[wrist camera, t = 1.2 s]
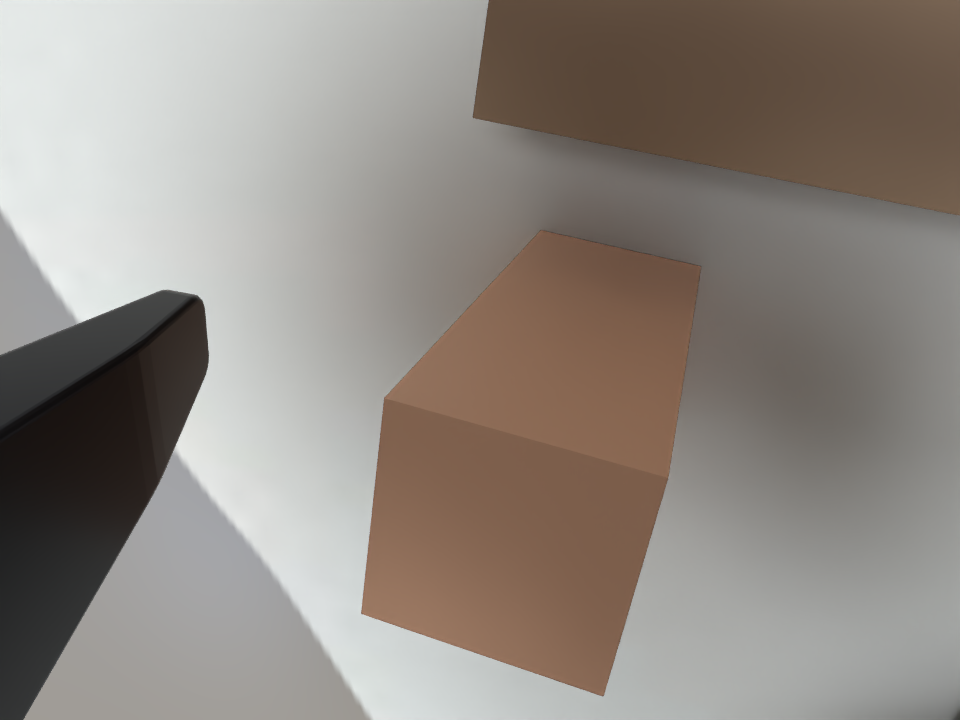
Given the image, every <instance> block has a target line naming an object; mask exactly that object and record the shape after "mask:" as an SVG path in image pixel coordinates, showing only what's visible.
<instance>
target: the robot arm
mask: <svg viewBox="0 0 960 720" xmlns="http://www.w3.org/2000/svg"><path fill="white" fill-rule="evenodd" d="M208 362H209V351H208V339H207V328H206V316H205V307H204V304H203V301H202V300H201V299H200V298H199V297H198V296H197V295H194V294H188V293H183V292H177V291H172V290H161V291H159V292H156V293H154V294H151V295H149V296H146V297H144V298H141V299H139V300H136V301H134V302H131V303H129V304H126V305H124V306H121V307H119V308H116V309H114V310H111V311H109V312H106V313H104V314H101V315H99V316H96V317H94V318H91V319H89V320H86V321H84V322H82V323H79V324H77V325H74V326H72V327H69V328H67V329H64V330H62V331H59V332H57V333H54V334H52V335H49V336H47V337H44V338H42V339H39V340H37V341H35V342H32V343H29V344H27V345H24V346H22V347H19V348H17V349H14V350H12V351H9V352H7V353H5V354H2V355H0V720H23V719H24V718H25V716H26V714H27V712H28V711H29V709H30V707H31V706H32V704H33V702H34V700H35V699H36V697H37V695H38V693H39V692H40V690H41V688H42V687H43V685H44V683H45V681H46V680H47V678H48V676H49V674H50V673H51V671H52V669H53V667H54V666H55V664H56V662H57V660H58V659H59V657H60V655H61V654H62V652H63V650H64V648H65V647H66V645H67V643H68V642H69V640H70V638H71V636H72V635H73V633H74V631H75V629H76V628H77V626H78V624H79V622H80V621H81V619H82V617H83V616H84V614H85V612H86V610H87V609H88V607H89V605H90V603H91V601H92V600H93V598H94V596H95V595H96V593H97V591H98V590H99V588H100V586H101V584H102V583H103V581H104V579H105V577H106V576H107V574H108V572H109V571H110V569H111V567H112V565H113V564H114V562H115V560H116V558H117V556H118V555H119V553H120V552H121V550H122V548H123V546H124V545H125V543H126V541H127V539H128V538H129V536H130V534H131V533H132V531H133V529H134V527H135V526H136V524H137V522H138V520H139V519H140V517H141V515H142V513H143V512H144V510H145V508H146V507H147V505H148V503H149V501H150V499H151V498H152V496H153V494H154V492H155V490H156V488H157V486H158V484H159V482H160V480H161V478H162V476H163V474H164V472H165V469H166V467H167V465H168V462H169V460H170V458H171V455H172V453H173V451H174V448H175V446H176V444H177V441H178V439H179V437H180V434H181V432H182V430H183V427H184V425H185V423H186V420H187V418H188V415H189V413H190V411H191V408H192V406H193V404H194V401H195V399H196V397H197V394H198V392H199V390H200V387H201V385H202V382H203V380H204V378H205V375H206V372H207V368H208Z"/></svg>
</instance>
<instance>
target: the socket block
mask: <svg viewBox="0 0 960 720" xmlns="http://www.w3.org/2000/svg"><path fill="white" fill-rule="evenodd" d="M473 118H476V119H481V120H486V121H491V122H496V123H501V124H506V125H511V126H516V127H521V128H526V129H531V130H536V131H541V132H546V133H550V134H555V135H560V136H565V137H570V138H575V139H580V140H585V141H590V142H595V143H600V144H605V145H610V146H615V147H620V148H625V149H630V150H635V151H640V152H645V153H650V154H655V155H660V156H665V157H670V158H675V159H680V160H685V161H690V162H695V163H700V164H705V165H710V166H715V167H720V168H725V169H730V170H735V171H740V172H745V173H750V174H755V175H760V176H765V177H770V178H775V179H780V180H785V181H790V182H795V183H800V184H805V185H810V186H815V187H820V188H825V189H830V190H835V191H840V192H845V193H850V194H855V195H860V196H865V197H870V198H875V199H880V200H885V201H890V202H895V203H900V204H905V205H910V206H915V207H920V208H925V209H930V210H935V211H940V212H945V213H950V214H955V215H960V0H489V3H488V10H487V18H486V25H485V32H484V39H483V47H482V54H481V61H480V68H479V76H478V83H477V90H476V97H475V105H474V112H473Z"/></svg>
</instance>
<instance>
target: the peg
mask: <svg viewBox="0 0 960 720" xmlns="http://www.w3.org/2000/svg"><path fill="white" fill-rule="evenodd" d="M700 271H701V266H697V265H693V264H688V263H684V262H679V261H675V260H671V259H666V258H662V257H657V256H653V255H649V254H644V253H640V252H635V251H631V250H626V249H622V248H618V247H613V246H609V245H604V244H600V243H595V242H591V241H587V240H582V239H578V238H573V237H569V236H565V235H560V234H556V233H551V232H547V231H542V230H540V232H539V233H538V234H537V235H536V236H535V237H534V238H533V239H532V240H531V241H530V242H529V243H528V244H527V245H526V247H525V248H524V249H523V250H522V251H521V252H520V253H519V254H518V255H517V256H516V257H515V258H514V259H513V261H512V262H511V263H510V264H509V265H508V266H507V267H506V268H505V269H504V270H503V271H502V272H501V273H500V274H499V276H498V277H497V278H496V279H495V280H494V281H493V282H492V283H491V284H490V285H489V286H488V287H487V288H486V289H485V291H484V292H483V293H482V294H481V295H480V296H479V297H478V298H477V299H476V300H475V301H474V302H473V303H472V305H471V306H470V307H469V308H468V309H467V310H466V311H465V312H464V313H463V314H462V315H461V316H460V317H459V318H458V320H457V321H456V322H455V323H454V324H453V325H452V326H451V327H450V328H449V329H448V330H447V331H446V332H445V333H444V335H443V336H442V337H441V338H440V339H439V340H438V341H437V342H436V343H435V344H434V345H433V346H432V347H431V349H430V350H429V351H428V352H427V353H426V354H425V355H424V356H423V357H422V358H421V359H420V360H419V361H418V362H417V364H416V365H415V366H414V367H413V368H412V369H411V370H410V371H409V372H408V373H407V374H406V375H405V376H404V377H403V379H402V380H401V381H400V382H399V383H398V384H397V385H396V386H395V387H394V388H393V389H392V390H391V391H390V393H389V394H388V395H387V396H386V397H385V398H384V405H383V415H382V424H381V433H380V443H379V452H378V462H377V471H376V480H375V490H374V499H373V508H372V518H371V527H370V536H369V546H368V555H367V564H366V574H365V583H364V592H363V602H362V611H361V614H363V615H366V616H369V617H372V618H375V619H378V620H381V621H384V622H387V623H390V624H393V625H396V626H398V627H401V628H404V629H407V630H410V631H413V632H416V633H419V634H422V635H425V636H428V637H431V638H434V639H437V640H439V641H442V642H445V643H448V644H451V645H454V646H457V647H460V648H463V649H466V650H469V651H472V652H475V653H477V654H480V655H483V656H486V657H489V658H492V659H495V660H498V661H501V662H504V663H507V664H510V665H513V666H515V667H518V668H521V669H524V670H527V671H530V672H533V673H536V674H539V675H542V676H545V677H548V678H551V679H554V680H556V681H559V682H562V683H565V684H568V685H571V686H574V687H577V688H580V689H583V690H586V691H589V692H592V693H594V694H597V695H600V696H604V693H605V689H606V686H607V683H608V679H609V676H610V673H611V669H612V666H613V662H614V659H615V656H616V652H617V649H618V646H619V642H620V639H621V635H622V632H623V629H624V625H625V622H626V619H627V615H628V612H629V609H630V605H631V602H632V598H633V595H634V592H635V588H636V585H637V582H638V578H639V575H640V571H641V568H642V565H643V561H644V558H645V555H646V551H647V548H648V544H649V541H650V538H651V534H652V531H653V528H654V524H655V521H656V517H657V514H658V511H659V507H660V504H661V501H662V497H663V494H664V490H665V487H666V484H667V480H668V476H669V470H670V463H671V457H672V450H673V444H674V438H675V431H676V425H677V418H678V412H679V406H680V399H681V393H682V386H683V380H684V374H685V367H686V361H687V354H688V348H689V342H690V335H691V329H692V322H693V316H694V310H695V303H696V297H697V290H698V284H699V277H700Z"/></svg>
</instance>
